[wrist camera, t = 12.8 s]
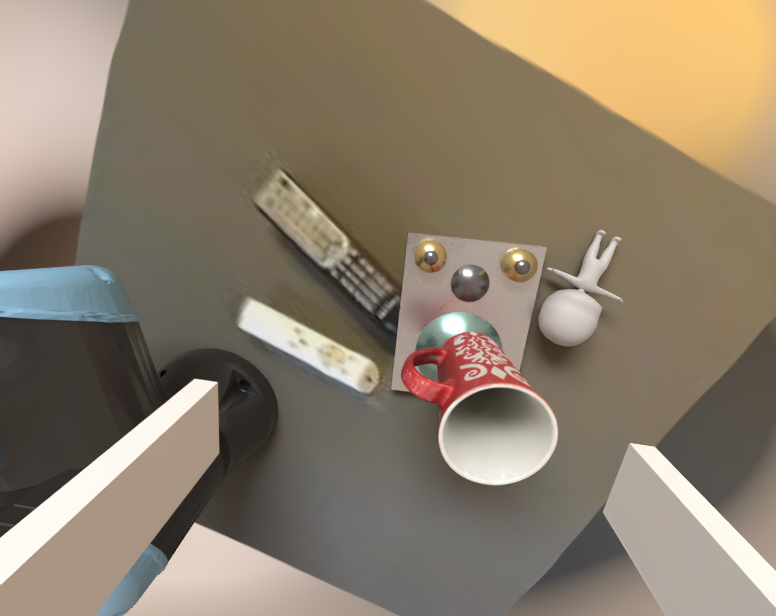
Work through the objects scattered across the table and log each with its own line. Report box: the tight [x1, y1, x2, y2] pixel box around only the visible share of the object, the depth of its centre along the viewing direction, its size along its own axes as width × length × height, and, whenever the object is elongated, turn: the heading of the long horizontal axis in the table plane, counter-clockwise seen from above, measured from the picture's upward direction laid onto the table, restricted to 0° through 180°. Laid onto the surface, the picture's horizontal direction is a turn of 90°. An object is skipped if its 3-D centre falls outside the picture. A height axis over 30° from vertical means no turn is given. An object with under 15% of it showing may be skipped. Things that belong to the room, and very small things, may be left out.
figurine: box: [538, 230, 623, 347], centre depth 36 cm, size 8×5×12 cm
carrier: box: [391, 232, 547, 392], centre depth 39 cm, size 14×18×3 cm
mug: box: [401, 332, 558, 485], centre depth 33 cm, size 13×9×14 cm
